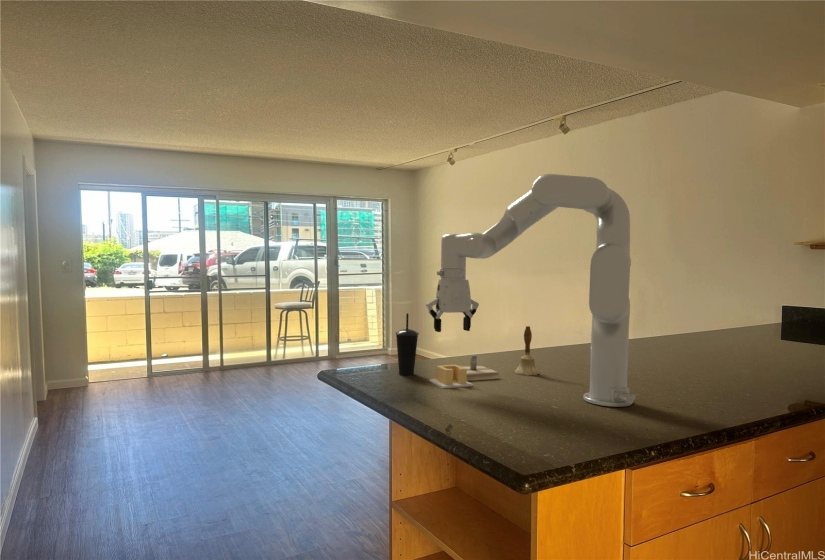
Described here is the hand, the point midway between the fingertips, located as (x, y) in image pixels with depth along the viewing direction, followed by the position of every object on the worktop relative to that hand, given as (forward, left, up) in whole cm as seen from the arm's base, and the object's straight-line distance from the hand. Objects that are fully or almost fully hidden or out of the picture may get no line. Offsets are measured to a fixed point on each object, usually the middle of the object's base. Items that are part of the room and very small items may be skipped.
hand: (452, 331), depth 164 cm
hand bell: (+7, -32, -16) cm, 37 cm away
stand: (+8, -12, -16) cm, 22 cm away
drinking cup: (+17, +8, -16) cm, 25 cm away
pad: (0, 0, -16) cm, 16 cm away
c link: (0, 0, -16) cm, 16 cm away
